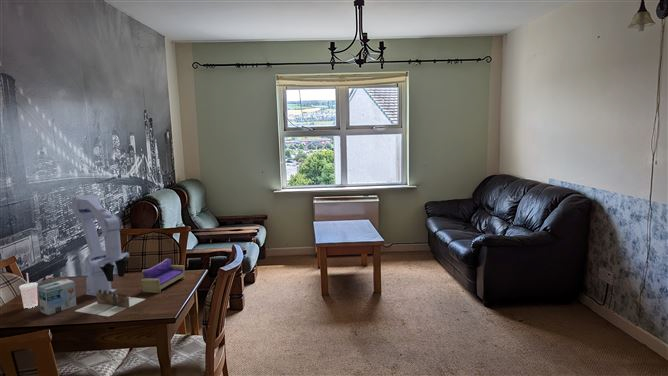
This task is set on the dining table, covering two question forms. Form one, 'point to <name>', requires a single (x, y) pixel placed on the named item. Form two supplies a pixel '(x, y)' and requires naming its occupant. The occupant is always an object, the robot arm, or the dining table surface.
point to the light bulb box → (57, 296)
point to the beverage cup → (29, 294)
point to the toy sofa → (161, 276)
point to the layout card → (107, 308)
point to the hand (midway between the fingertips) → (115, 278)
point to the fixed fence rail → (122, 300)
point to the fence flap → (106, 297)
